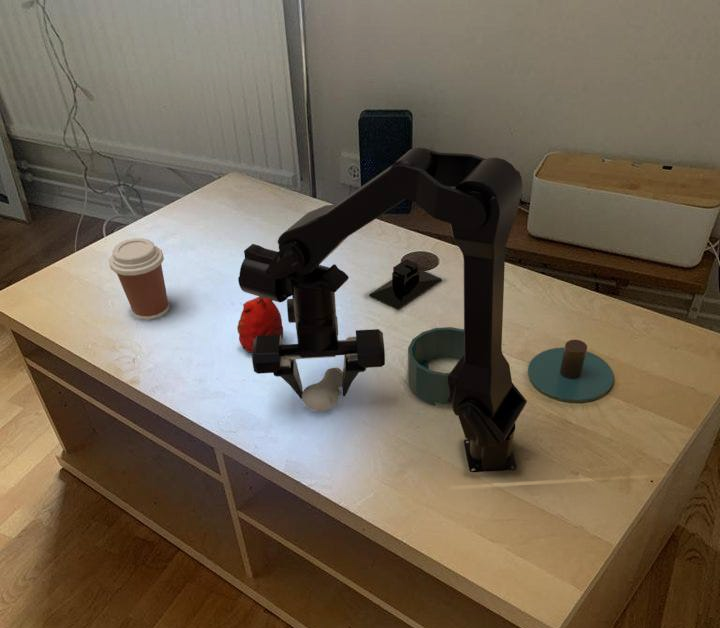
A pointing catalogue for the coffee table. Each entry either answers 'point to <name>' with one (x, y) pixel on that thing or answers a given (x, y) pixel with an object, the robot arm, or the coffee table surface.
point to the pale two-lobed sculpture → (324, 391)
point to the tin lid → (570, 373)
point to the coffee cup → (141, 276)
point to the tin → (426, 348)
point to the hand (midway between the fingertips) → (323, 395)
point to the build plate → (405, 285)
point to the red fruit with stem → (258, 321)
